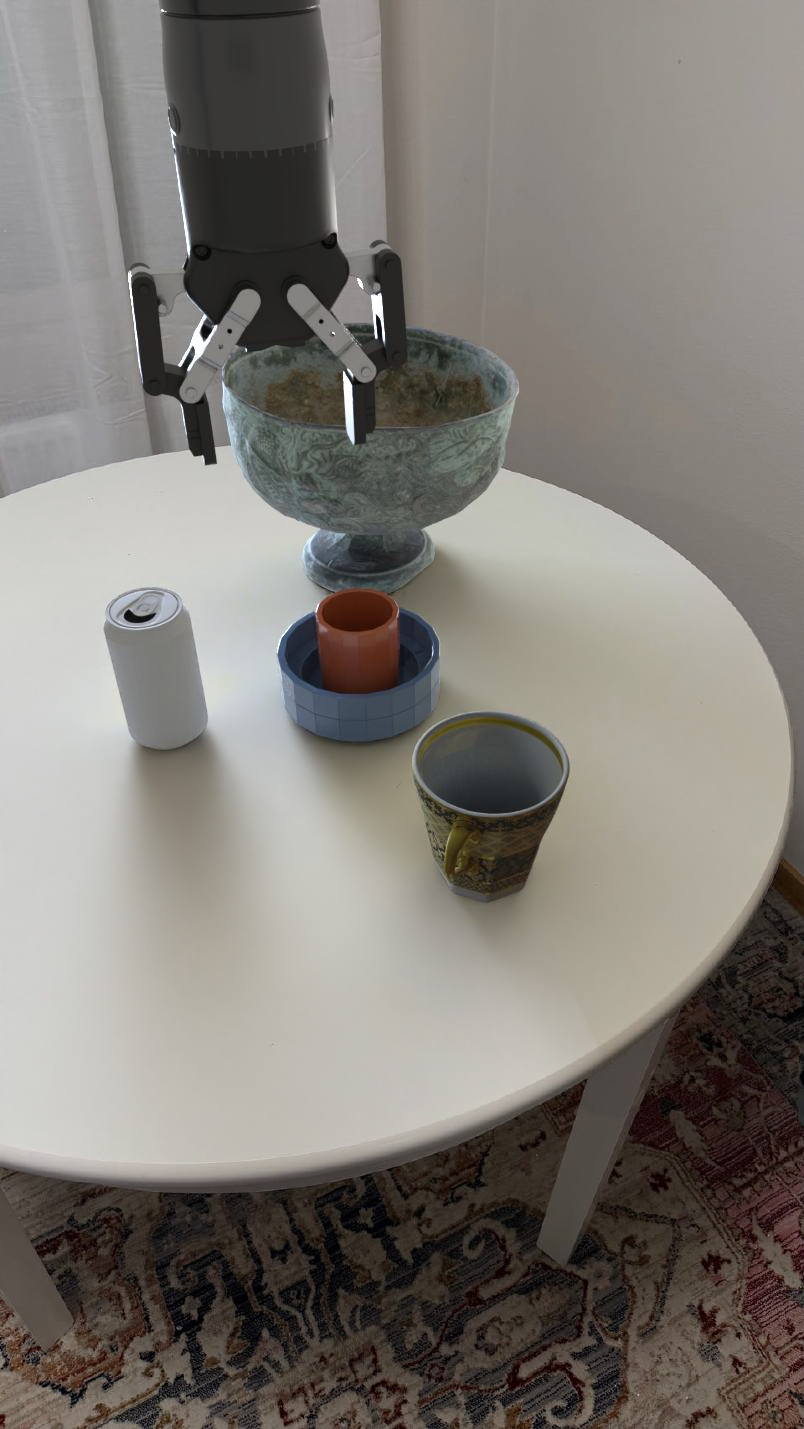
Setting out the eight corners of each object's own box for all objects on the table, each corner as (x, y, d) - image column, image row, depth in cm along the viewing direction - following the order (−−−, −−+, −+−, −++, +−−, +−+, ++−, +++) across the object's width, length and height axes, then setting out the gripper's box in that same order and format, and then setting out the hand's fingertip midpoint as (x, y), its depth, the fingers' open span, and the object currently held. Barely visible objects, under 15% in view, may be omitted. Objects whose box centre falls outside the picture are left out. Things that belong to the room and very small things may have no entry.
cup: (331, 720, 82) (325, 640, 76) (315, 673, 86) (308, 595, 81) (408, 706, 83) (407, 627, 78) (389, 660, 88) (386, 582, 82)
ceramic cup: (441, 799, 75) (443, 696, 69) (571, 834, 72) (586, 729, 66) (374, 930, 66) (369, 825, 60) (521, 976, 63) (532, 871, 57)
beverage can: (116, 749, 80) (83, 625, 72) (150, 699, 85) (123, 578, 77) (191, 761, 79) (165, 637, 71) (221, 709, 84) (200, 588, 76)
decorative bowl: (185, 547, 103) (159, 353, 90) (375, 472, 116) (378, 294, 103) (349, 672, 88) (348, 463, 75) (546, 571, 101) (574, 378, 88)
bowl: (298, 760, 79) (293, 711, 76) (271, 662, 89) (265, 615, 85) (459, 730, 81) (460, 681, 78) (415, 637, 91) (415, 591, 88)
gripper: (379, 103, 51) (387, 408, 62) (93, 122, 49) (152, 438, 59) (420, 131, 46) (420, 462, 56) (99, 154, 43) (163, 497, 53)
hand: (283, 449), depth 58 cm, fingers open, 8 cm apart
